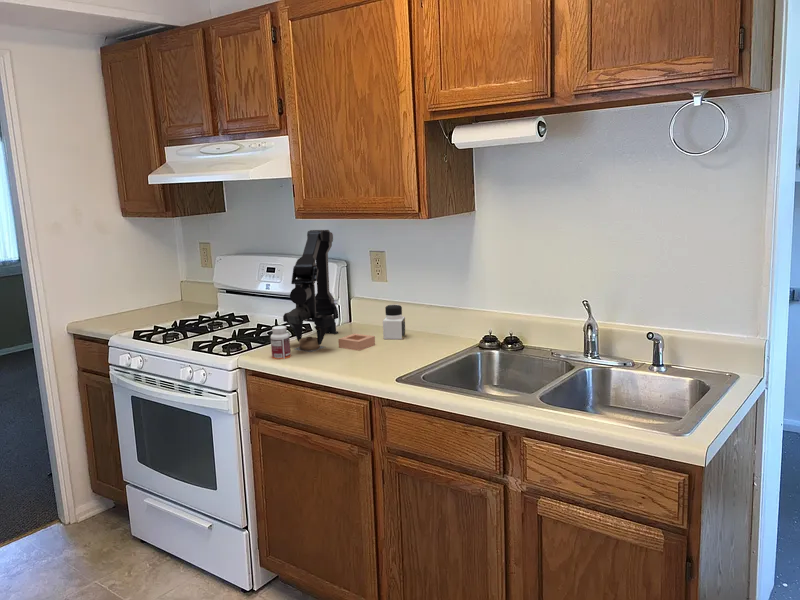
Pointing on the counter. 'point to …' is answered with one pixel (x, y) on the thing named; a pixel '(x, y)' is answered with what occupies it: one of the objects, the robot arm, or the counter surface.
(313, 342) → the walnut lid
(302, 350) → the coaster mat
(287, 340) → the pill bottle
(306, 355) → the counter surface
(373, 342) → the salmon pink square box
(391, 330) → the medicine bottle
